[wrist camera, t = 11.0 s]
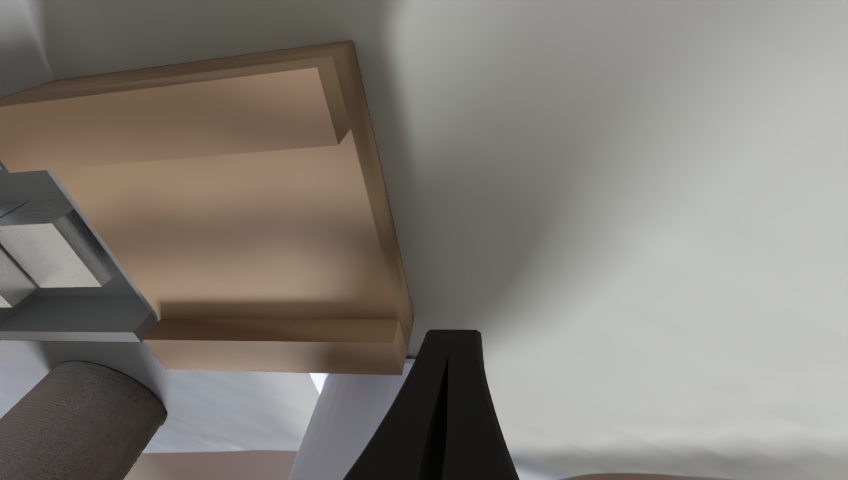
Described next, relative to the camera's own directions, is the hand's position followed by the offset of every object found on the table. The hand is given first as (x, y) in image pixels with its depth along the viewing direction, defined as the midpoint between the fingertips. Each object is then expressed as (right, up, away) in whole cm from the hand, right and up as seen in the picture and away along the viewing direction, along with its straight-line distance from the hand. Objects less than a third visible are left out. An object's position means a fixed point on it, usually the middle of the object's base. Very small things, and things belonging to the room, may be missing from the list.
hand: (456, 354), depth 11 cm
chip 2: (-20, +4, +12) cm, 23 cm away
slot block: (-9, +4, +10) cm, 15 cm away
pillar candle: (-28, -10, +24) cm, 38 cm away
